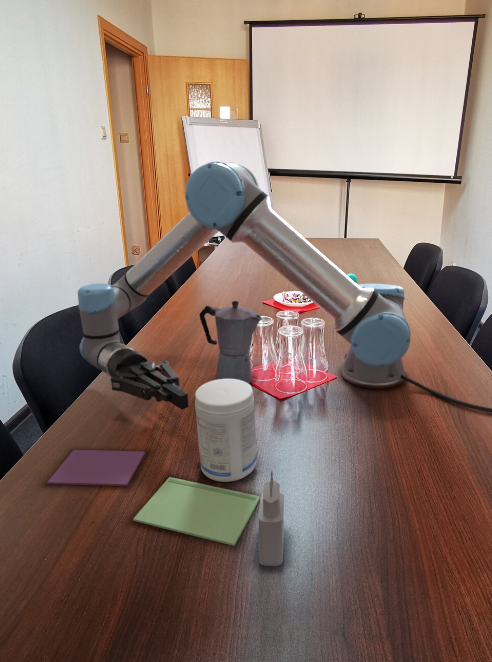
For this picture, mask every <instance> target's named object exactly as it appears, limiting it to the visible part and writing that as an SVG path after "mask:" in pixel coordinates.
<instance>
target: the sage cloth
mask: <svg viewBox="0 0 492 662" xmlns="http://www.w3.org/2000/svg"><path fill="white" fill-rule="evenodd" d="M260 499H261V495H260V496H259V495H255V494H252V493H246V492H242V491H237V490H233V489H232V490H231V489H227V488H223V487H218V486H214V485H210V484H204V483H200V482H195V481H190V480H185V479H180V478H177V477H172V476H169V477H168V478H167V479H166V480H165V482H164V483H163V484H162V485H161V486H160V487H159V488H158V490H157V491H155V493H154V494H153V495H152V496H151V498H150V499H149V500H148V501H147V502H145V503H146V504H145V505H144V506H142V507H141V509H140V510H139V511H138V513H137V514H136V515H135V516H134V517H133V519H132V521H133V522H136V523H140V524H144V525H148V526H152V527H156V528H160V529H165V530H168V531H173V532H176V533H180V534H184V535H188V536H193V537H196V538H200V539H204V540H207V541H213V542H216V543H221V544H224V545H229V546H233V547H235V546H236V545H237V542H238V541H239V539H240V537H241V536H242V533H243V532H244V530H245V528H246V526H247V524H248V522H249V520H250V519H251V517H252V515H253V513H254V511H255V509H256V507H257V505H258V503H260Z"/></svg>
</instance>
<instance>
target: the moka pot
mask: <svg viewBox="0 0 492 662" xmlns="http://www.w3.org/2000/svg"><path fill="white" fill-rule="evenodd" d="M239 303H240V302H239V301H238V300H233V301H231V305H232V306H225V307H221V308H220V307H218V306H217V307H216V306H215V307H212V306H210V305H205V307H204V308H203V309H202V310H201V312H199V320H200V322H201V326H202V328H203V331H204V333H205V334H204V335H205V337H206V340H207V341H206V342H207V343H208V344H211V345H214V346H215V345H217V344H218V348H219V349H218V350H219V353H218V360H217V367H216V373H215V379H214V380H218V379H237V380H241V381H244V382H246V383H248V384H249V385H250V383H252V382H253V377H252V376H253V375H252V366H251V355H250V353H251V352H250V350H251V345H252V340H253V334H254V333H255V331H256V329H257V327H258V325H259V323H260V321H262V320H263V318H262V316H261V315H260V314H258V313H256V312H255V310H254V309H252V308H249V307H246V306H239ZM207 314H209V315H210V316H212V317H214V318H215V328H216V335H217V340H213V339H212V336H211V334H210V330H209V326H208V323H207V319H206V316H205V315H207Z"/></svg>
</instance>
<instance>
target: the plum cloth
mask: <svg viewBox="0 0 492 662" xmlns="http://www.w3.org/2000/svg"><path fill="white" fill-rule="evenodd" d="M145 455H146V450H145V451H144V450H143V451H141V450H102V449H101V450H99V449H97V450H96V449H73V450H72V451H71V452H70V454H69V455H68V456H67V457H66V459H65V460H64V461H63V462H62V463H61V465H60V466H59V467H58V468H57V469H56V471H55V472H54V473H53V474H52V476H51V477H50V478H49V479H48V481H47V482H46V484H47V485H65V486H66V485H67V486H104V487H105V486H106V487H107V486H109V487H128V485H129V484H130V481H131V480H132V478H133V476H134V474H135V472H136V471H137V470H138V468H139V466H140V463H141V462H142V460H143V459H144V457H145Z"/></svg>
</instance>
